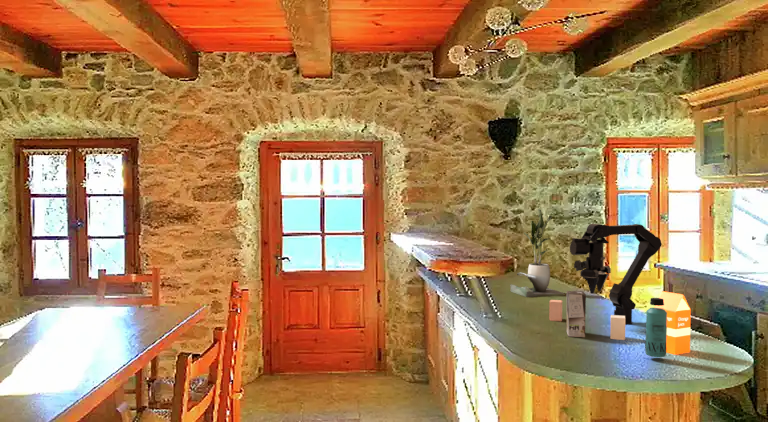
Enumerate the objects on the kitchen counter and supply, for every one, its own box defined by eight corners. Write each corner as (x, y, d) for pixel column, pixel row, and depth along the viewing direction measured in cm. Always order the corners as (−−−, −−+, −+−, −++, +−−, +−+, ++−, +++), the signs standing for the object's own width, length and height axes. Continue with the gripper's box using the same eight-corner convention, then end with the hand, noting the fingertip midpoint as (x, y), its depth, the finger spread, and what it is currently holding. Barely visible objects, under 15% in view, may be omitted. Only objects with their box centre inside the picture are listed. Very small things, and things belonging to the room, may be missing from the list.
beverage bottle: (641, 356, 211) (642, 296, 210) (660, 356, 211) (661, 296, 211) (651, 362, 204) (651, 300, 204) (671, 361, 205) (671, 299, 204)
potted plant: (526, 297, 328) (527, 209, 327) (510, 291, 346) (510, 208, 345) (564, 295, 334) (565, 209, 332) (546, 289, 352) (547, 208, 350)
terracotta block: (562, 319, 273) (562, 300, 272) (561, 321, 268) (561, 302, 268) (550, 318, 274) (550, 299, 274) (549, 320, 269) (549, 301, 269)
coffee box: (585, 337, 238) (586, 294, 238) (567, 336, 240) (568, 293, 239) (583, 332, 247) (583, 290, 247) (565, 331, 249) (566, 290, 248)
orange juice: (674, 354, 213) (675, 295, 213) (652, 349, 221) (653, 291, 221) (690, 352, 217) (691, 293, 216) (668, 346, 225) (669, 289, 224)
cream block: (624, 337, 239) (624, 315, 239) (625, 340, 235) (625, 318, 234) (610, 336, 241) (610, 314, 241) (610, 338, 236) (610, 317, 236)
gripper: (585, 251, 274) (585, 287, 275) (568, 255, 260) (567, 293, 260) (611, 253, 267) (611, 290, 268) (595, 256, 253) (594, 296, 253)
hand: (595, 292), depth 263 cm, fingers open, 8 cm apart
